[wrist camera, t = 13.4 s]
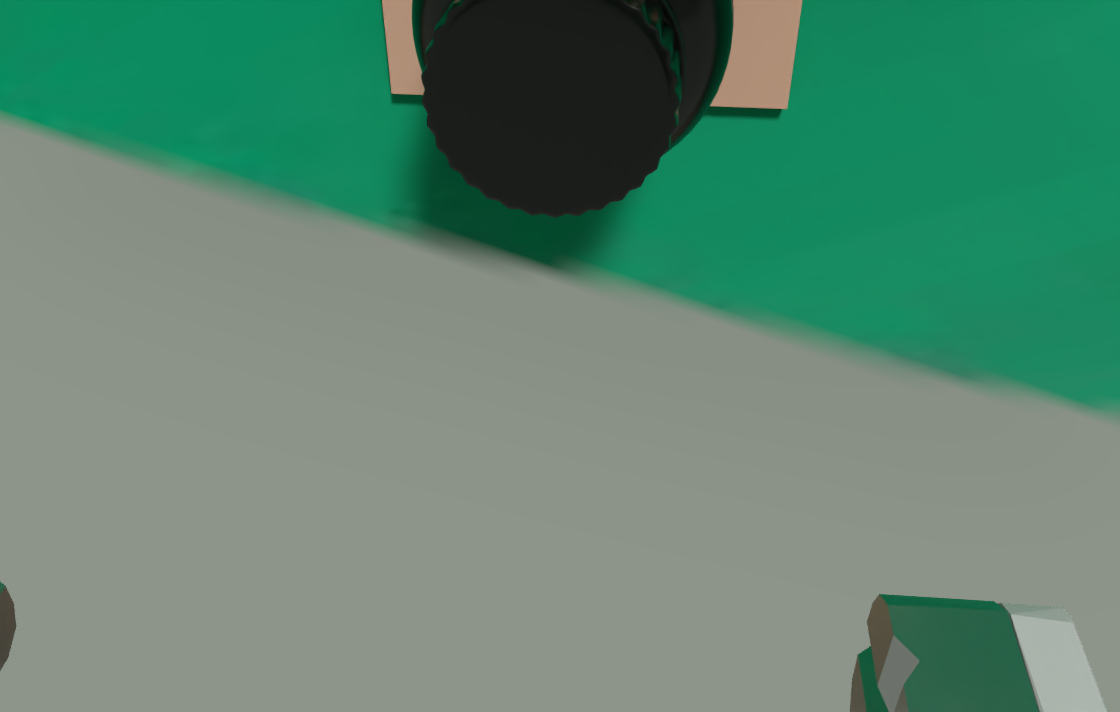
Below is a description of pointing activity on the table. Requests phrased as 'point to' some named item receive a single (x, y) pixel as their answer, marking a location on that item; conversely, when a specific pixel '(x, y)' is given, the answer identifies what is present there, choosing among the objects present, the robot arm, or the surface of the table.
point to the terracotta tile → (750, 77)
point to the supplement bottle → (566, 91)
